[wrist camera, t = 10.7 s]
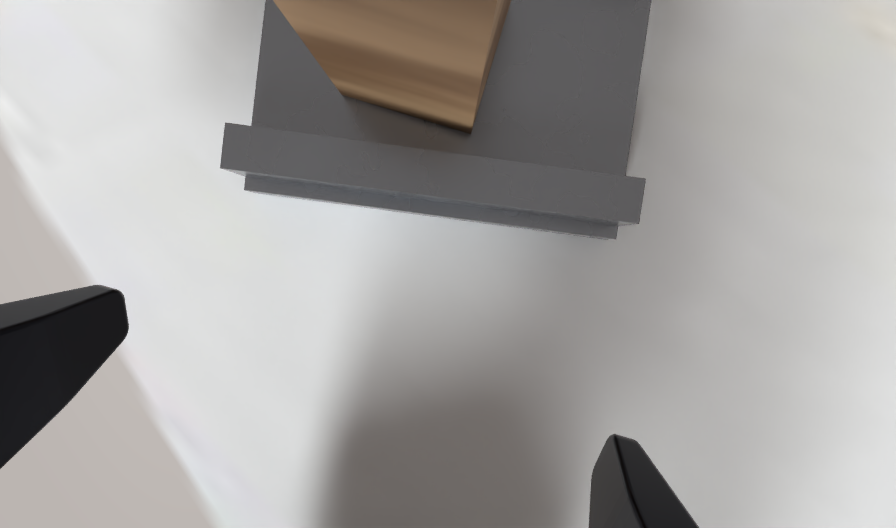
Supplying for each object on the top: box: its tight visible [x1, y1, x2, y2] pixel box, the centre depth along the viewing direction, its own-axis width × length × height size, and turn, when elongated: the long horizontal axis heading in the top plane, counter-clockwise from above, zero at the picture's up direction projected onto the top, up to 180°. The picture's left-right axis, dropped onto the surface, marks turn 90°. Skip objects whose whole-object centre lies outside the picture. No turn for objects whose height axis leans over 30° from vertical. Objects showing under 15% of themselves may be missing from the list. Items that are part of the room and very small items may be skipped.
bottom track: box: [220, 0, 651, 240], centre depth 17 cm, size 12×14×3 cm
